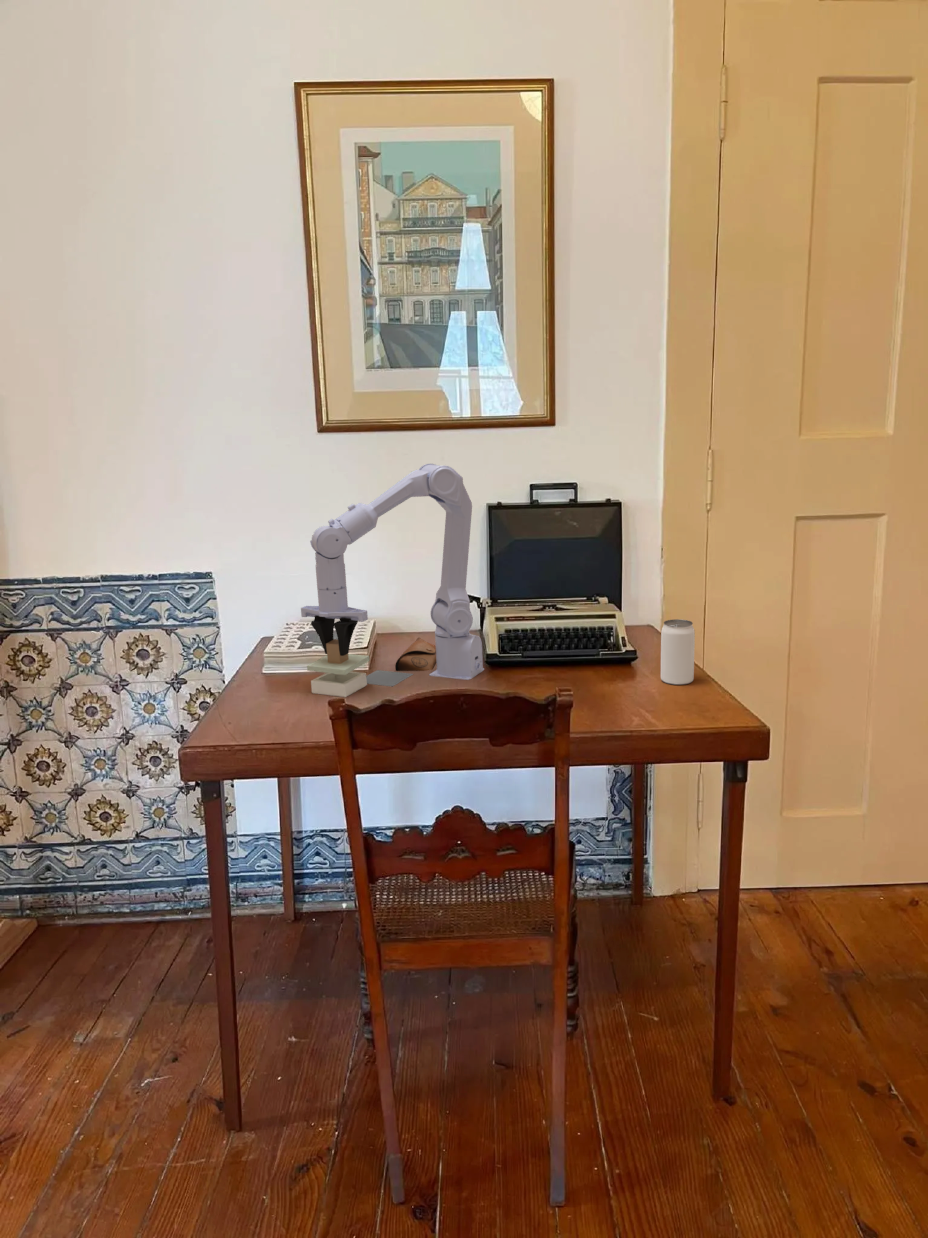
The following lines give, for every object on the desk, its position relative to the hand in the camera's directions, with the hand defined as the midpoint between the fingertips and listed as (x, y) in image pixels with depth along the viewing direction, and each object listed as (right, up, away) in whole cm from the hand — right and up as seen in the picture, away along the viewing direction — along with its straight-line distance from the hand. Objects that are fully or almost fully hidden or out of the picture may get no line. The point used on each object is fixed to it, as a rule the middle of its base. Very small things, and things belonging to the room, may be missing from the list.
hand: (336, 653), depth 175 cm
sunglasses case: (+16, -3, +21) cm, 27 cm away
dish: (0, -8, +2) cm, 8 cm away
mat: (+9, -6, +8) cm, 13 cm away
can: (+68, -6, 0) cm, 69 cm away
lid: (0, -2, +1) cm, 3 cm away
